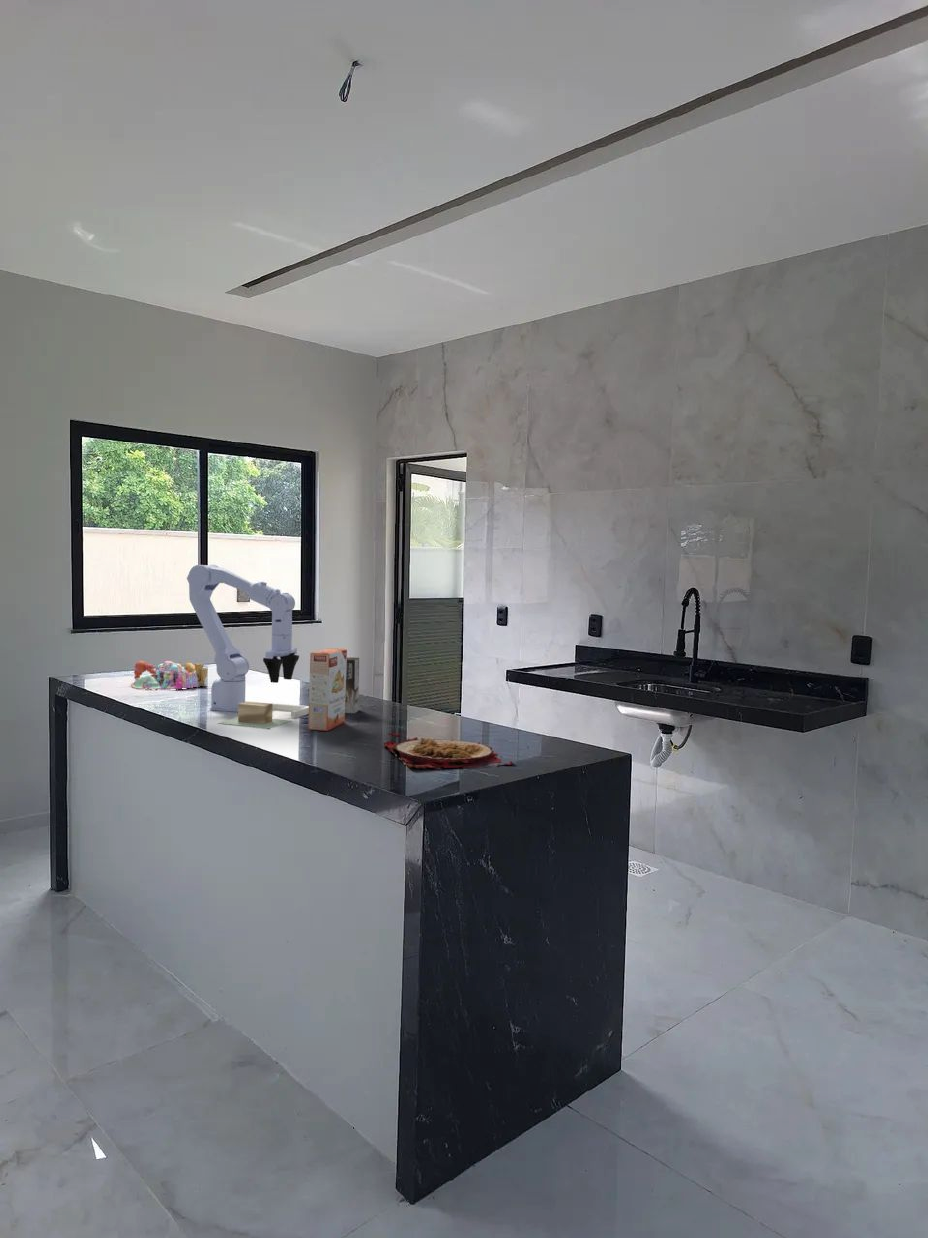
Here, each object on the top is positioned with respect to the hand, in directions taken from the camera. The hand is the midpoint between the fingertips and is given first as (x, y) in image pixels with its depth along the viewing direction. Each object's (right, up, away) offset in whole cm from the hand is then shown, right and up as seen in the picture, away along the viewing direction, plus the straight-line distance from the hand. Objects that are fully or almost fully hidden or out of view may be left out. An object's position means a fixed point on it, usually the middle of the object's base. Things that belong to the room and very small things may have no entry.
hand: (281, 680), depth 257 cm
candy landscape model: (-48, -6, +47) cm, 67 cm away
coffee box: (+17, -10, +5) cm, 20 cm away
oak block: (-4, -10, -16) cm, 19 cm away
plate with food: (+49, -15, -50) cm, 72 cm away
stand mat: (-4, -10, -16) cm, 20 cm away
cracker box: (+16, -11, -19) cm, 27 cm away
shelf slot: (+1, -10, -3) cm, 10 cm away
